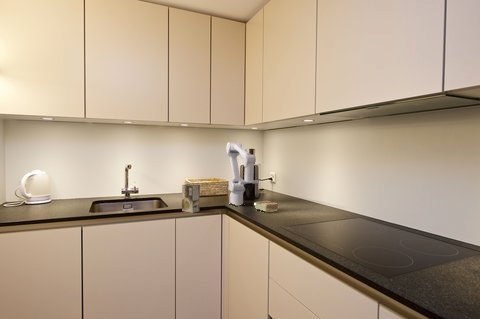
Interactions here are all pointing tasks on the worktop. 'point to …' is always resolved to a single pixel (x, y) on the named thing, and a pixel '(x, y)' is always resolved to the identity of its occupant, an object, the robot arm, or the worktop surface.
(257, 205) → the tray
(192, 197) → the coffee box
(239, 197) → the robot arm
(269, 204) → the housing
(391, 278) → the worktop surface
